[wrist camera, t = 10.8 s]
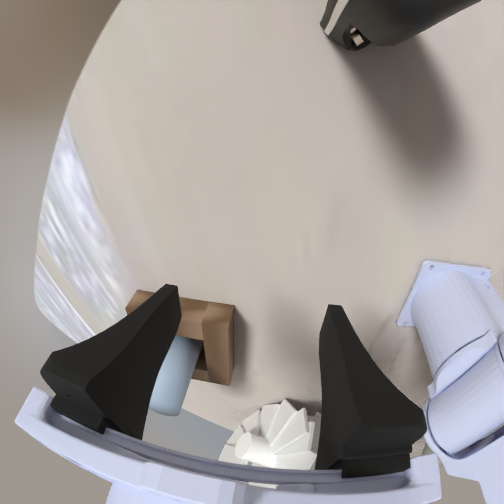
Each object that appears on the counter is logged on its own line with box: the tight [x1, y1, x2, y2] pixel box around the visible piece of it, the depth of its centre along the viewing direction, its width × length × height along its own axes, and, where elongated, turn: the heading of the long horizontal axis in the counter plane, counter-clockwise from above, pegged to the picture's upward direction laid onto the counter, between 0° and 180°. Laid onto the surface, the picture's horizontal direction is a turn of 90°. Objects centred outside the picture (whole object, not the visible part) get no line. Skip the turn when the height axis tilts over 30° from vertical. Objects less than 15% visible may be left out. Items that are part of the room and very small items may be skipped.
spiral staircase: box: [218, 399, 321, 489], centre depth 32 cm, size 18×18×25 cm
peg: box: [149, 335, 203, 416], centre depth 26 cm, size 4×4×10 cm
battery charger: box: [320, 0, 481, 51], centre depth 8 cm, size 7×4×11 cm, turn 133°
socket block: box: [125, 290, 234, 386], centre depth 29 cm, size 11×11×3 cm
